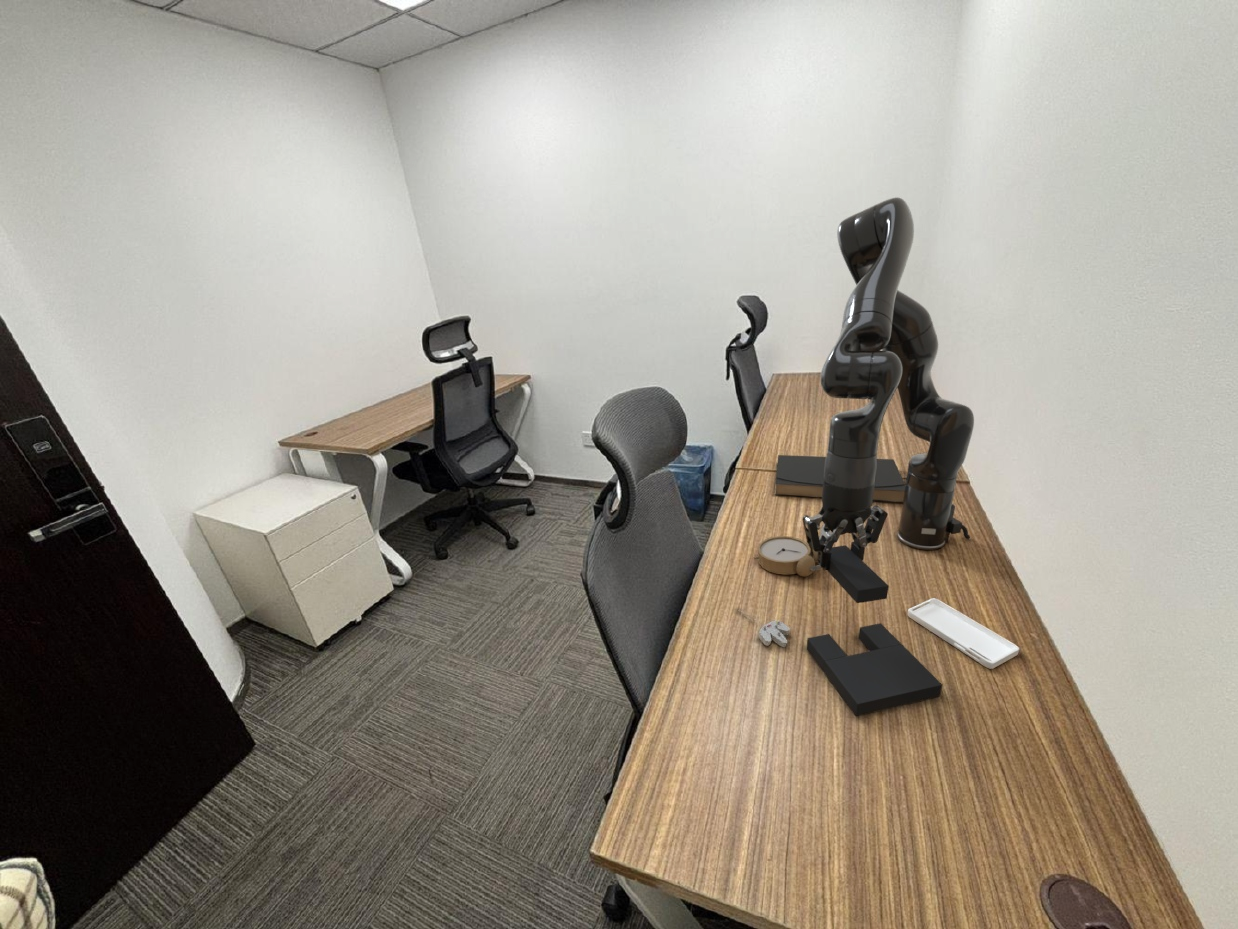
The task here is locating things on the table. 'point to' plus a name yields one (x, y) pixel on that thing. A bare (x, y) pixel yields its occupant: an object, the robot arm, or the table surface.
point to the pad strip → (856, 576)
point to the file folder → (808, 476)
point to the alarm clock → (787, 556)
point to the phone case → (964, 633)
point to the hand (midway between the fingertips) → (839, 565)
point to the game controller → (773, 633)
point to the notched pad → (874, 671)
